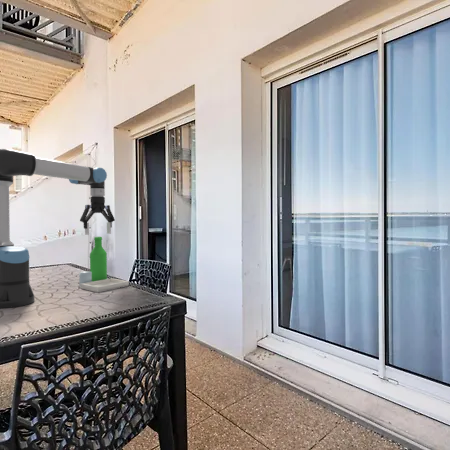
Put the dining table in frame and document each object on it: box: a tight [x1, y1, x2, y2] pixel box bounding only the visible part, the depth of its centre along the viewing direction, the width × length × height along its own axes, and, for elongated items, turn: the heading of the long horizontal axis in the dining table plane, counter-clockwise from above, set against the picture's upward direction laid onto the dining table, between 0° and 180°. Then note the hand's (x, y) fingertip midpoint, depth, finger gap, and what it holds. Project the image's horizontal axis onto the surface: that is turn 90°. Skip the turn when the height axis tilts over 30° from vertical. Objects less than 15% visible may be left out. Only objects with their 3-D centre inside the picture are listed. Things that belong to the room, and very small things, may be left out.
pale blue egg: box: [78, 270, 92, 287], centre depth 171 cm, size 6×6×7 cm
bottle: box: [89, 236, 108, 282], centre depth 183 cm, size 9×9×25 cm
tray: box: [79, 278, 130, 293], centre depth 166 cm, size 18×15×2 cm
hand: (98, 234), depth 183 cm, fingers open, 13 cm apart
